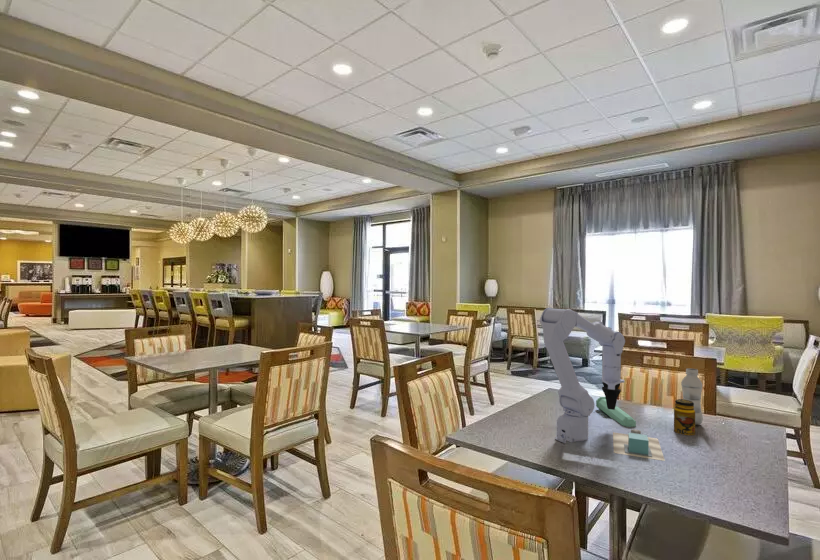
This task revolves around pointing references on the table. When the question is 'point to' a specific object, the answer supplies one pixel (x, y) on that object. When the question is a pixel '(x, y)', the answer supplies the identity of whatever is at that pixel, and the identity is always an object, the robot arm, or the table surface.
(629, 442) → the teal slotted block
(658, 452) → the post board
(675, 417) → the condiment
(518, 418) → the table surface
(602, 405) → the pale green rod
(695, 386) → the plastic bottle
